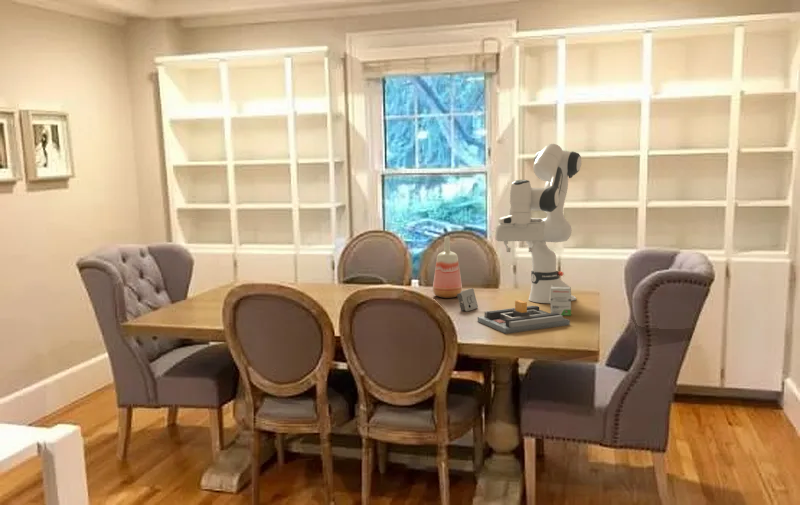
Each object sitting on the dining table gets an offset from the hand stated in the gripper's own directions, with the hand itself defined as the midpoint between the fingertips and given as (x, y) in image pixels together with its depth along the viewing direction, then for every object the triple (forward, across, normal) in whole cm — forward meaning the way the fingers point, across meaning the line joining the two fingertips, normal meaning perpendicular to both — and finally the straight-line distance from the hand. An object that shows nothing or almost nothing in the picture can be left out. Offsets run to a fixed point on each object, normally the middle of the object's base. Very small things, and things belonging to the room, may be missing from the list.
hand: (519, 251), depth 279 cm
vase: (+28, +26, -48) cm, 61 cm away
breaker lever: (+26, +1, +10) cm, 28 cm away
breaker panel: (+28, 0, +10) cm, 30 cm away
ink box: (+28, -19, -4) cm, 34 cm away
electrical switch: (+28, +19, -18) cm, 39 cm away
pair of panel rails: (+26, 0, +10) cm, 28 cm away
